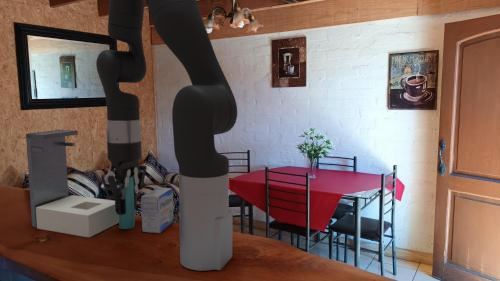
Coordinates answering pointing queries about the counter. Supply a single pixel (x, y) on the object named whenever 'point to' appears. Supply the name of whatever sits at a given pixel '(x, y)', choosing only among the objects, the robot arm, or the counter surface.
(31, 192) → the grey upright panel
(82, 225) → the socket
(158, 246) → the counter surface
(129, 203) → the peg
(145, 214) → the medicine box
